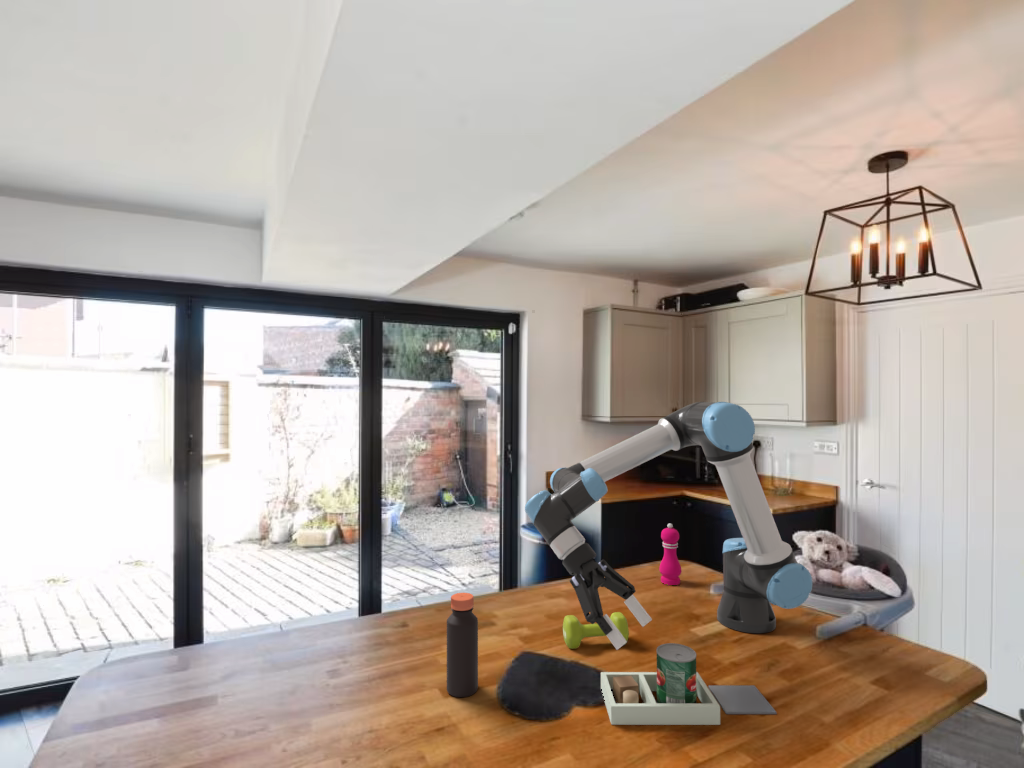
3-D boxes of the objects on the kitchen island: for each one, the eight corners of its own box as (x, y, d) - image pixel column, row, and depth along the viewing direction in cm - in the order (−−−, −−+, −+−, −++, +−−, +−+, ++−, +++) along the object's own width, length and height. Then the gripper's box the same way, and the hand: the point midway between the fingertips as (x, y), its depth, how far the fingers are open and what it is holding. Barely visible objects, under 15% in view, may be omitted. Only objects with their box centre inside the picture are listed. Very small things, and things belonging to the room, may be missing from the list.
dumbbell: (621, 635, 145) (621, 608, 145) (631, 649, 137) (631, 620, 137) (560, 639, 143) (560, 611, 143) (567, 653, 135) (567, 624, 135)
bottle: (470, 700, 114) (469, 604, 114) (440, 694, 116) (440, 600, 117) (482, 684, 120) (482, 593, 121) (455, 679, 123) (455, 589, 123)
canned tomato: (651, 696, 115) (650, 643, 116) (686, 693, 116) (686, 641, 117) (665, 718, 108) (665, 662, 108) (703, 715, 108) (703, 659, 109)
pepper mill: (682, 580, 187) (681, 521, 187) (681, 587, 180) (680, 526, 181) (660, 578, 189) (659, 520, 190) (658, 585, 183) (658, 525, 183)
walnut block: (631, 694, 116) (631, 675, 116) (638, 705, 112) (638, 685, 112) (613, 696, 116) (613, 677, 116) (620, 707, 112) (620, 687, 112)
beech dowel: (636, 709, 110) (636, 689, 111) (640, 718, 108) (639, 698, 108) (621, 709, 111) (621, 689, 111) (624, 718, 108) (624, 698, 108)
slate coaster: (754, 687, 119) (754, 685, 119) (776, 714, 109) (776, 712, 109) (708, 687, 119) (708, 685, 119) (726, 714, 109) (726, 712, 109)
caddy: (697, 688, 118) (697, 672, 118) (720, 724, 105) (720, 706, 105) (600, 688, 119) (600, 672, 119) (611, 724, 106) (611, 706, 106)
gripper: (588, 548, 137) (645, 623, 128) (534, 575, 117) (597, 666, 108) (608, 530, 134) (668, 606, 125) (555, 554, 114) (622, 646, 105)
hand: (635, 634), depth 117 cm, fingers open, 13 cm apart
